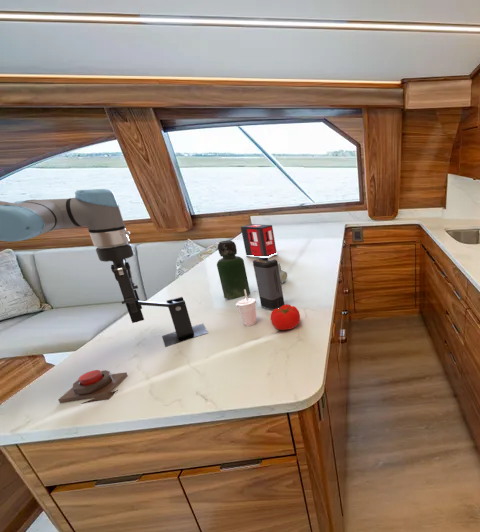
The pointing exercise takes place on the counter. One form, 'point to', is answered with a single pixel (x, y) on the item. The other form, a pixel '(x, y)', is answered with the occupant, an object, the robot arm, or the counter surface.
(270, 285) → the electronic device
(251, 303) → the smoothie
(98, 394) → the button block
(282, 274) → the air freshener
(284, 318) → the tomato
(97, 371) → the red button
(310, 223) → the counter surface
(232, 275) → the green bottle
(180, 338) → the switch bracket
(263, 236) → the cleaning product box
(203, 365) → the counter surface
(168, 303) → the switch lever
